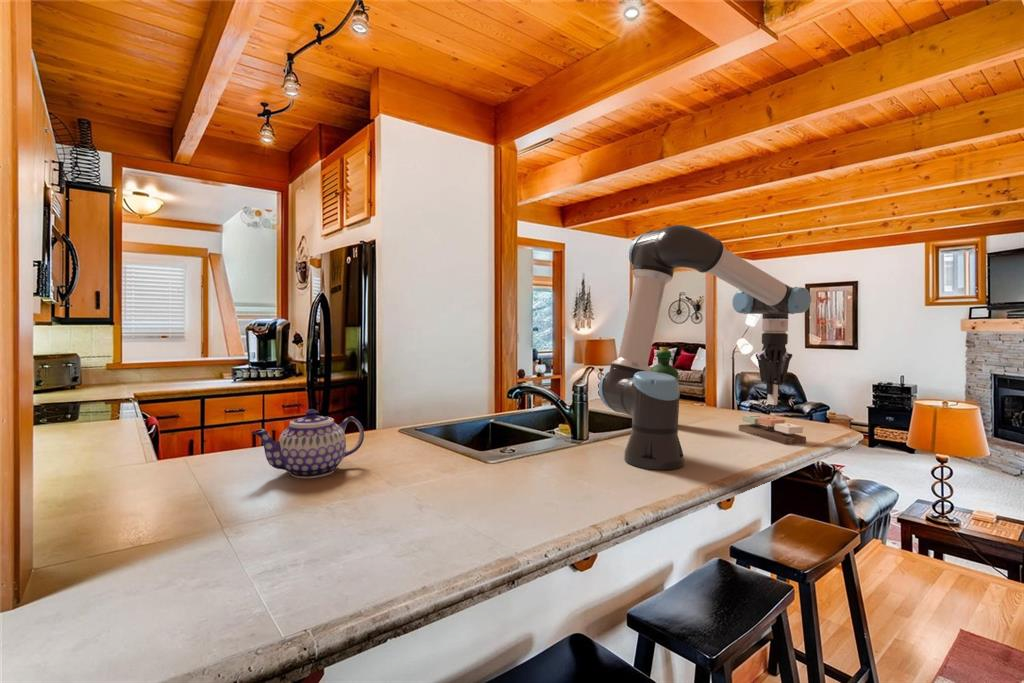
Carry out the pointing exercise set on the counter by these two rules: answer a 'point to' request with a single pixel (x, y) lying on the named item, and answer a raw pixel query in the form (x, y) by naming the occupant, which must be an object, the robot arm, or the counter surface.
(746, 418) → the sage tile
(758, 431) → the button board
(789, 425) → the cream tile
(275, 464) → the teapot
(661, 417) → the robot arm
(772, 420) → the terracotta tile
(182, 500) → the counter surface
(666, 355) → the bottle
